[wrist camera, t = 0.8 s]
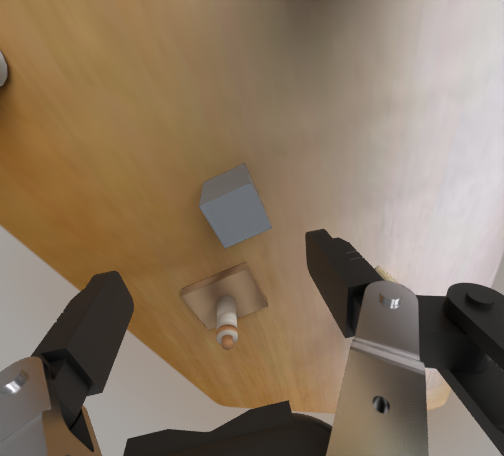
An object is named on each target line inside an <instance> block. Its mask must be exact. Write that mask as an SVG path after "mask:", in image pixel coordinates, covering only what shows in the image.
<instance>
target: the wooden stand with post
mask: <svg viewBox="0 0 504 456" xmlns="http://www.w3.org/2000/svg"><path fill="white" fill-rule="evenodd" d="M181 298H182V299H183V300H184V301H185V302H186V303H187V305H188V306H189V307H190V308H191V309H192V311H193V312H194V313H195V314H196V315H197V316H198V318H199V319H200V320H201V321H202V322H203V324H204V325H205V326H206V327H207V328H208V329H212V328H214V327H217V342H218V343H220V344H222V348H223V349H231V348H232V347H233V343H235V342H236V341H237V339H238V330H237V318H240V317H242V316H245V315H247V314H250V313H252V312H255V311H257V310H260V309H262V308H265V307H267V306H268V303H267V298H266V297H265V295H264V293H263V291H262V290H261V288H260V286H259V285H258V283H257V281H256V279H255V278H254V276H253V274H252V272H251V271H250V269H249V267H248V266H247V264H246V262H244V263H242V264H240V265H237V266H235V267H232V268H230V269H228V270H225V271H223V272H221V273H218V274H216V275H213V276H211V277H209V278H206V279H204V280H202V281H199V282H197V283H195V284H192V285H190V286H187V287H185V288H183V289H182V293H181Z"/></svg>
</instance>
